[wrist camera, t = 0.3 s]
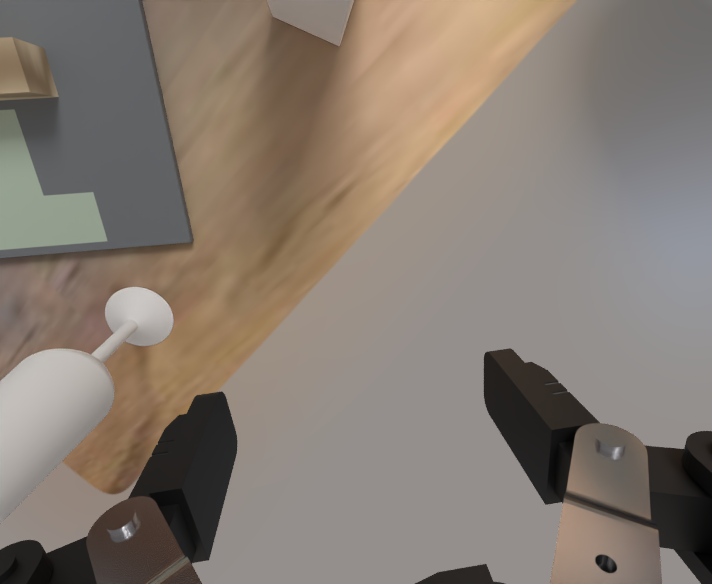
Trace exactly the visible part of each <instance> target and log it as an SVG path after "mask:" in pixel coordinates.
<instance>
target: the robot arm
mask: <svg viewBox="0 0 712 584" xmlns="http://www.w3.org/2000/svg"><path fill="white" fill-rule="evenodd" d="M484 399H485V404H486V407H487V410H488V413H489V415H490V416H491V418H492V419H493V421H494V423H495V424H496V426H497V428H498V429H499V431H500V432H501V434H502V436H503V437H504V439H505V440H506V442H507V444H508V445H509V447H510V448H511V450H512V452H513V453H514V455H515V456H516V458H517V460H518V461H519V463H520V464H521V466H522V468H523V469H524V471H525V472H526V474H527V476H528V477H529V479H530V481H531V482H532V484H533V485H534V487H535V489H536V490H537V492H538V493H539V495H540V496H541V498H542V500H543V501H544V503H545V504H553V503H558V502H562V503H563V507H562V513H561V519H560V525H559V531H558V538H557V543H556V550H555V556H554V562H553V568H552V575H551V580H550V584H662V577H661V562H660V548H659V547H663V548H670V549H674V550H675V551H676V553H677V554H678V555H679V556H680V557H681V559H682V560H683V561H684V563H685V564H686V565H687V566H688V568H689V569H690V570H691V571H692V573H693V574H694V575H695V576H696V578H697V579H698V580H699V581H700V583H701V584H712V431H700V432H696V433H693V434H691V435H690V436H689V437H688V438H687V441H686V445H685V449H676V448H664V447H652V446H645V445H644V444H643V443H642V442H641V441H640V440H639V439H638V438H637V437H636V436H634V435H633V434H631V433H630V432H628V431H626V430H624V429H622V428H619V427H617V426H613V425H609V424H602V423H600V422H599V421H598V420H597V419H595V417H593V415H592V414H590V412H588V410H587V409H586V408H585V407H583V405H582V404H581V403H579V401H578V400H577V399H576V398H575V397H574V396H573V395H572V394H571V393H570V392H567V389H566V388H565V387H564V386H563V385H562V384H561V383H558V380H557V379H556V378H555V377H554V376H553V375H552V374H551V373H550V372H549V371H548V370H546V369H544V368H542V367H540V366H538V365H537V364H534V363H533V362H528V363H524V361H523V360H521V358H520V357H519V356H518V355H517V354H516V353H515V352H514V351H513V350H512V349H504V350H497V351H490V352H486V353H485V355H484ZM236 454H237V435H236V431H235V427H234V424H233V420H232V417H231V413H230V410H229V407H228V403H227V399H226V397H225V394H224V393H223V392H216V393H209V394H202V395H197V396H195V398H194V400H193V402H192V404H191V406H190V408H189V410H188V412H187V414H184V415H179V416H178V417H177V418H176V419H175V420H173V421H172V422H171V423H170V424H169V425H168V426H167V427H166V428H165V430H164V432H163V434H162V436H161V438H160V439H159V441H158V445H156V447H155V449H154V451H153V453H152V457H150V458H149V460H148V462H147V464H146V466H145V468H144V470H143V472H142V473H141V475H140V477H139V479H138V481H137V483H136V485H135V487H134V489H133V490H132V492H131V494H130V496H129V498H128V499H127V500H124V501H122V502H120V503H118V504H117V505H115V506H113V507H112V508H110V509H109V510H107V511H106V512H105V513H104V514H103V515H102V516H101V517H99V519H98V520H97V521H96V522H95V523H94V525H93V526H92V527H91V529H90V531H89V533H88V536H87V537H84V538H82V539H80V540H77V541H75V542H73V543H70V544H68V545H65V546H63V547H61V548H58V549H56V550H54V551H51V552H49V553H46V552H45V550H44V549H43V547H42V545H41V544H40V543H39V542H37V541H34V540H25V541H20V542H17V543H14V544H11V545H9V546H7V547H5V548H3V549H1V550H0V584H202V583H201V581H200V579H199V578H198V575H197V574H196V572H195V570H194V568H193V566H192V563H194V562H200V561H206V560H209V557H210V554H211V550H212V546H213V542H214V538H215V535H216V531H217V527H218V523H219V519H220V515H221V511H222V508H223V504H224V500H225V496H226V492H227V488H228V485H229V480H230V477H231V473H232V469H233V465H234V461H235V458H236ZM415 584H504V583H500V582H493V580H492V577H491V575H490V572H489V570H488V567H487V565H486V564H484V565H478V566H472V567H466V568H460V569H455V570H449V571H443V572H439V573H436V574H434V575H432V576H430V577H428V578H426V579H424V580H422V581H420V582H418V583H415Z"/></svg>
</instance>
